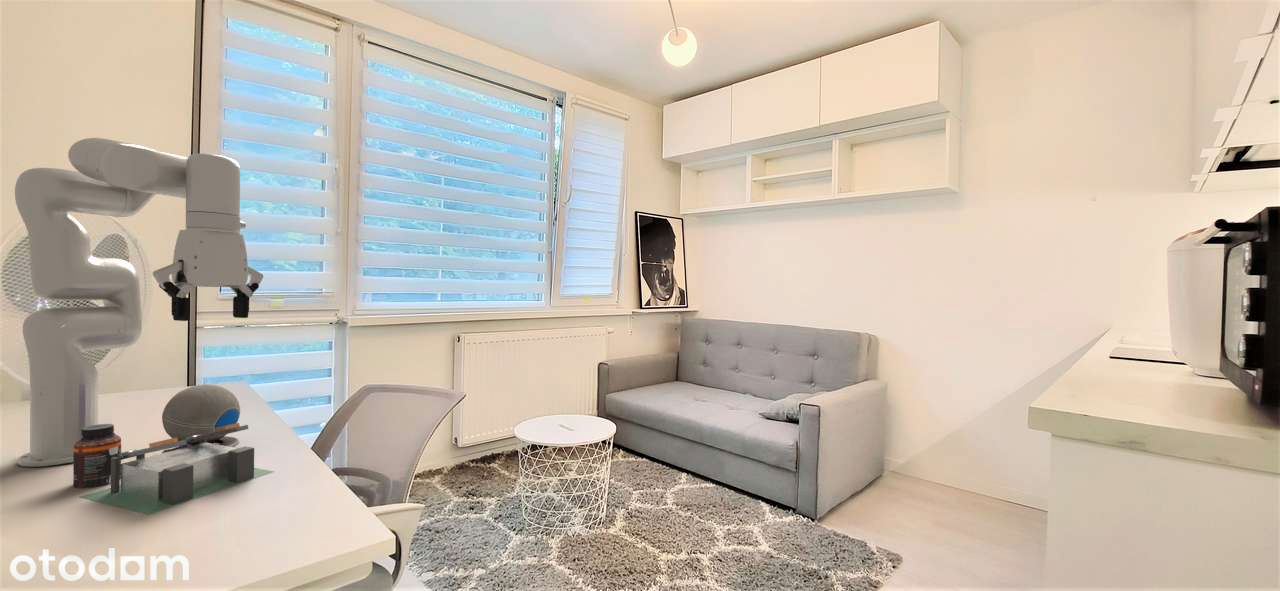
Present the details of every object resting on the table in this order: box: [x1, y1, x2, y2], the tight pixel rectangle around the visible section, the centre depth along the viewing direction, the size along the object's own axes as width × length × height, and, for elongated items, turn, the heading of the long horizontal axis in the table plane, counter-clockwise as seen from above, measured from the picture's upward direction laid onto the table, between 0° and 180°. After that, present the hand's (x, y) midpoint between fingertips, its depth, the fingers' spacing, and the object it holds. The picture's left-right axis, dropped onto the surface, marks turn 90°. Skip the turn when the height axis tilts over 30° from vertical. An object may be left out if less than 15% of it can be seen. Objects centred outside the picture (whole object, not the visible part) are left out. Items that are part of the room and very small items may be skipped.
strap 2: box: [185, 422, 249, 444], centre depth 97 cm, size 15×2×2 cm, turn 72°
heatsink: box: [120, 442, 239, 502], centre depth 92 cm, size 10×13×5 cm
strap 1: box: [118, 437, 187, 461], centre depth 87 cm, size 15×2×2 cm, turn 72°
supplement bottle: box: [72, 423, 122, 489], centre depth 92 cm, size 6×6×11 cm
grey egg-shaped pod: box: [161, 384, 241, 454], centre depth 112 cm, size 13×13×15 cm
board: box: [79, 438, 275, 515], centre depth 92 cm, size 18×20×7 cm
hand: (212, 319), depth 93 cm, fingers open, 9 cm apart
